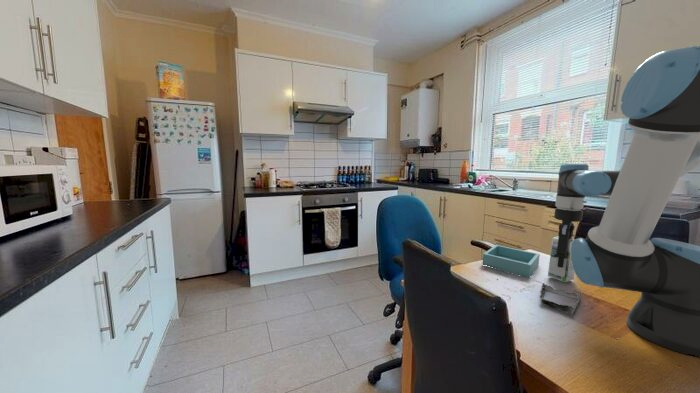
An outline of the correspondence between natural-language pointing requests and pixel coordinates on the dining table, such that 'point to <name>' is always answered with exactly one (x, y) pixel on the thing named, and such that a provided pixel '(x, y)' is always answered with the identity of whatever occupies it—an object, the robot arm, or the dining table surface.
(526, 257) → the box
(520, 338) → the dining table surface
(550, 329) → the dining table surface
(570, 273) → the syrup box
